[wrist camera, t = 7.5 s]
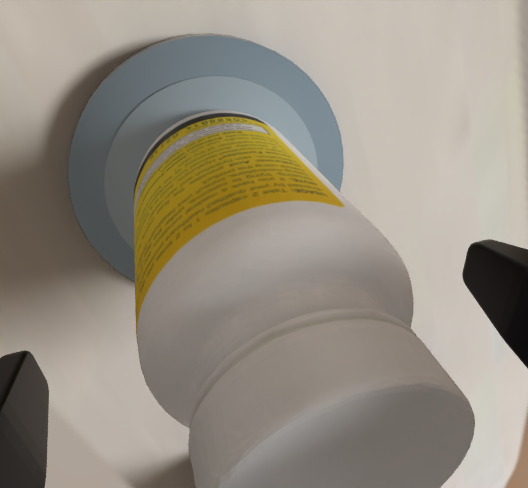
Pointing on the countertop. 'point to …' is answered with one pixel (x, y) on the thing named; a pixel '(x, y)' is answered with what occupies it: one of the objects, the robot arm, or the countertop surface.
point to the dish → (176, 109)
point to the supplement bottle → (281, 321)
